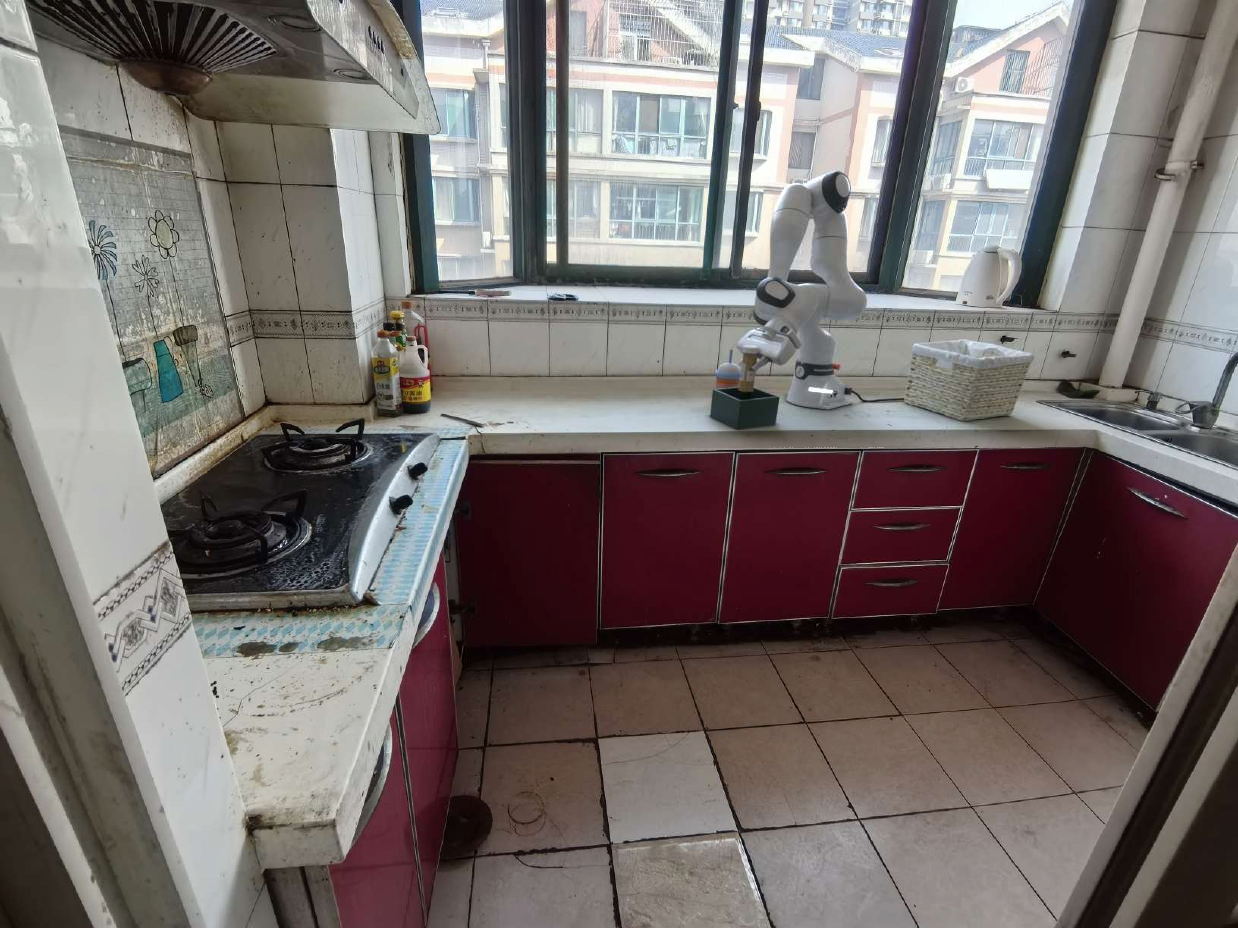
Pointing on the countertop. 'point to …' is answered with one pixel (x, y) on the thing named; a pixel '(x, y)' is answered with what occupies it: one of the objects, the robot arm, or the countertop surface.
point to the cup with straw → (728, 374)
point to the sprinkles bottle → (748, 368)
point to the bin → (744, 407)
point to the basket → (966, 378)
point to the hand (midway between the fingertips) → (747, 367)
